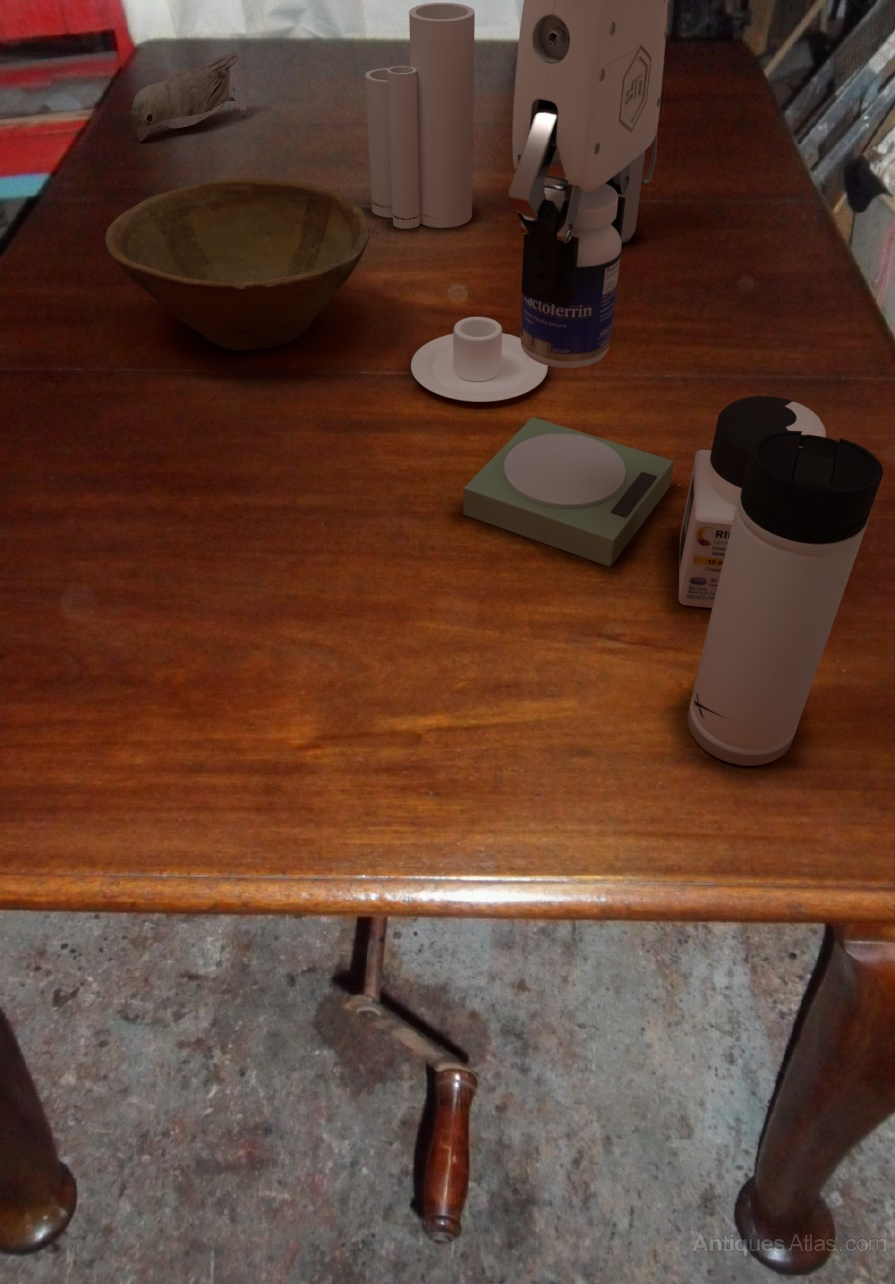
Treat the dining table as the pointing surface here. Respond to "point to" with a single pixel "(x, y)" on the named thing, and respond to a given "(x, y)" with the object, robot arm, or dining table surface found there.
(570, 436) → the scale
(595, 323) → the pill bottle
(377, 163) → the vase
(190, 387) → the dining table surface
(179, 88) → the decorative bird
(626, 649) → the dining table surface
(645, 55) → the robot arm
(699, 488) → the container
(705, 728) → the travel mug
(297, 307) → the bowl
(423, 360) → the candle holder
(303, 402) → the dining table surface
